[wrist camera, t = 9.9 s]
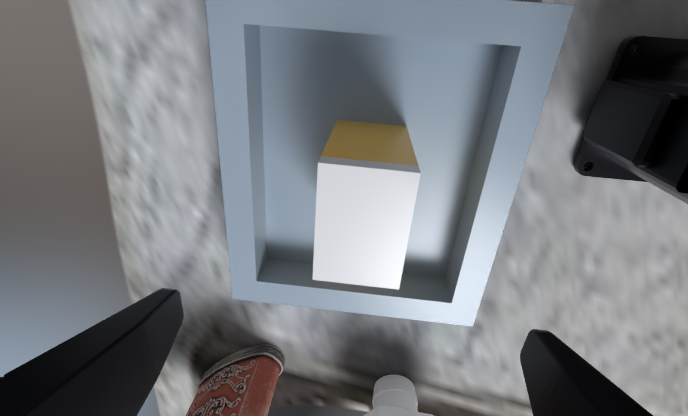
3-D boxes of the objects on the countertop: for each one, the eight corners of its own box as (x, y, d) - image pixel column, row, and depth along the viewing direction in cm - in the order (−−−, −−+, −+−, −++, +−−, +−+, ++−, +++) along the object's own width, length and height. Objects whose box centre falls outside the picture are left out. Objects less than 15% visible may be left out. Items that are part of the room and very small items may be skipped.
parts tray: (541, 9, 16) (574, 5, 13) (461, 291, 23) (472, 326, 20) (231, -15, 16) (203, -23, 14) (248, 268, 24) (232, 298, 21)
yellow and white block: (406, 126, 18) (420, 173, 12) (392, 214, 20) (398, 289, 14) (337, 119, 18) (317, 162, 12) (331, 208, 20) (312, 279, 14)
